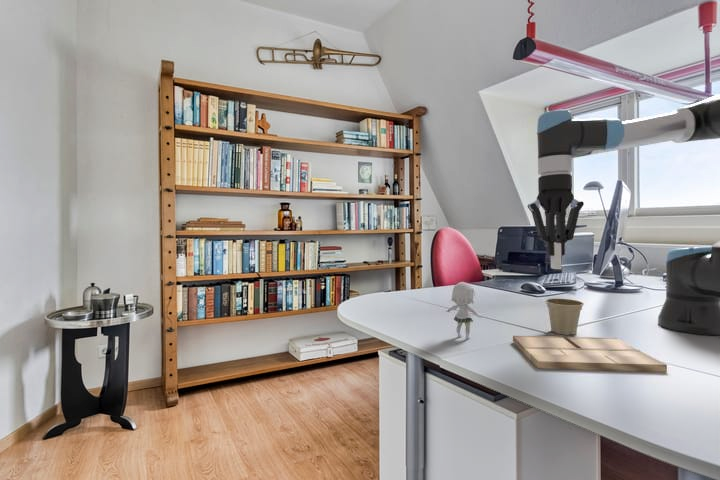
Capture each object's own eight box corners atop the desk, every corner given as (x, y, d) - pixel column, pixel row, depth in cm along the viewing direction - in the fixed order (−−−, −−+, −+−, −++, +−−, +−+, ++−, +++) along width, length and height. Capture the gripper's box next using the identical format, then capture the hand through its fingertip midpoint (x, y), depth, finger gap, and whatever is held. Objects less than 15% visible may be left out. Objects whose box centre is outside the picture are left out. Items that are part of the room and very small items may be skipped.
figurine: (486, 339, 98) (486, 282, 97) (475, 345, 93) (476, 285, 93) (450, 332, 105) (450, 279, 104) (439, 337, 100) (439, 281, 100)
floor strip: (638, 356, 85) (638, 349, 85) (666, 372, 76) (666, 364, 76) (523, 353, 87) (523, 347, 87) (538, 368, 78) (538, 360, 78)
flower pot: (589, 338, 99) (589, 305, 98) (550, 336, 101) (551, 304, 100) (576, 328, 108) (576, 298, 108) (541, 327, 110) (541, 297, 110)
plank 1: (523, 352, 87) (523, 346, 87) (512, 341, 95) (512, 335, 95) (576, 354, 86) (576, 347, 86) (561, 342, 94) (561, 336, 94)
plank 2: (581, 354, 86) (582, 348, 86) (566, 342, 94) (566, 336, 94) (636, 355, 85) (636, 349, 85) (616, 343, 93) (616, 337, 93)
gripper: (574, 175, 97) (575, 266, 98) (522, 178, 98) (524, 267, 99) (589, 171, 89) (590, 269, 90) (533, 174, 91) (534, 270, 91)
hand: (556, 268), depth 95 cm, fingers closed
